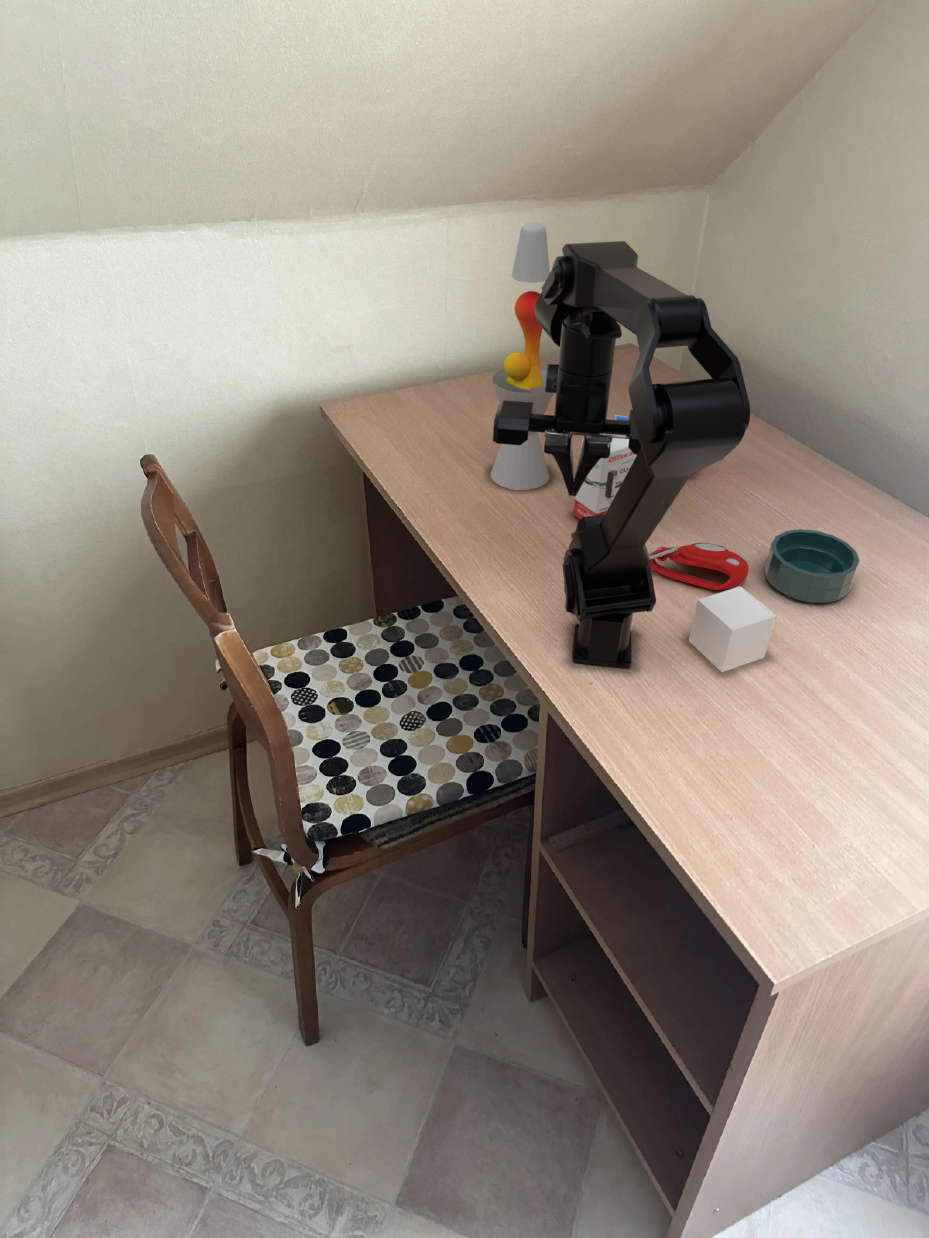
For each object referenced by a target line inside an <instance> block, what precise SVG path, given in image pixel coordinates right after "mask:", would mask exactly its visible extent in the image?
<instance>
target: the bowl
mask: <svg viewBox="0 0 929 1238" xmlns="http://www.w3.org/2000/svg"><path fill="white" fill-rule="evenodd" d="M859 564H860V557H859V555H858V552H857V550H856V549H855V548H853V547H852V546H851V544H849V543H848V542H847V541H846V540H843V539H841V538H839V537H837V536H835V535H833V534H830V533H828V532H827V533H826V532H823V531H819V530H815V529H802V528H801V529H799V528H797V529H792V530H785V531H783V532H781V533H779V534H777V535H775V536H774V538H773V540H772V542H770V546H769V549H768V554H767V557H766V561H765V565H764V574H765V580H767V582H768V583H769V584H770V585H771V586H772V587H773V588H774V589H776V590H777V591H779V592H780V593H781V594H783V595H785V596H786V597H788V598H790V599H793V600H796V601H800V602H804V603H810V604H825V603H831V602H837V601H839V600H841V599H842V598H844V597H846V596H847V595H848V594H849V592H850V589H851V587H852V585H853V581H854V578H855V576H856V572H857V569H858V567H859Z"/></svg>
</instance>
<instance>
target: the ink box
mask: <svg viewBox="0 0 929 1238" xmlns="http://www.w3.org/2000/svg"><path fill="white" fill-rule="evenodd" d="M583 440H584V438H582V440H581V447H580V450H581V449H582V445H583ZM628 443H629V439H621V438H613V439H612V442H611V447H610V457H609V458H601V459H600V460H599V461H598V462H597V464H596V465H595V466H594V467H593V469H592V470H591V471H590V472H589V474H588V475H587V477H586V479H585V481H584V482H583V484H582V486H581V488H580V490H579V491H578V493H577V495H576V496H574V502H573V512H572V515H573V516H574V517H576V518H577V519H578V520H580V519H581V518H583V517H588V516H597V515H605V514H606V512H607V510H608V508H609V506H610V504H611V503H612V501H613V499H614V497H615V495H616V493H617V491H618V490H619V488H620V486H621V484H622V482H623V480H624V478H625V477H626V475H627V473H628V471H629V469H630V467H631V465H632V464H633V462H634V460H635V458H636V456H637V455H636V454H634V453H633V452H632V451H631V450H630V449H629V448H628ZM580 454H581V452H580V453H579V455H580Z"/></svg>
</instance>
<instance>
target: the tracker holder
mask: <svg viewBox="0 0 929 1238" xmlns="http://www.w3.org/2000/svg"><path fill="white" fill-rule="evenodd" d="M647 552H648V555H649V559H650V568H651V569H652V570H653V571H655V572H656V573H659V574H661V575H663V576H665V577H667V578H670V579H673V580H676V581H680V582H683V583H687V584H690V585H694V586H697V587H701V588H704V589H708V590H712V591H722V590H730V589H733V588H737V587H740V585H742V584H743V583H744V581H746V578H747V576H748V574H749V563H748V562H747V560H746V559H744V557H742V556H740V554H737V552H733V551H732V550H729V549H728V548H726V547H724V546H722V545H718V544H715V543H709V542H695V543H694V542H693V543H692V544H687V545H685V544H684V545H681V546H678V545H674V546H671V547H666V546H660V547H657V548H655V549H653V550H650V551H647ZM668 559H669V560H671V561H673V562H675V563H678V564H683V565H688V566H693V567H699V568H703V569H709V570H714V571H718V572H719V573H722V574H725V575H727V576H728V577H729V579H728V580H727V581H725V583H720V582H717V581H713V580H709V579H705V578H702V577H698V576H695V575H691V574H687V573H683V572H680V571H675V570H672V569H669V568H667V567H665V566H663V565H662V564H661V565H660V564H659V563H658V562H662V563H663V562H666V561H667V560H668ZM656 560H657V561H658V562H657V561H656Z"/></svg>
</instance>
